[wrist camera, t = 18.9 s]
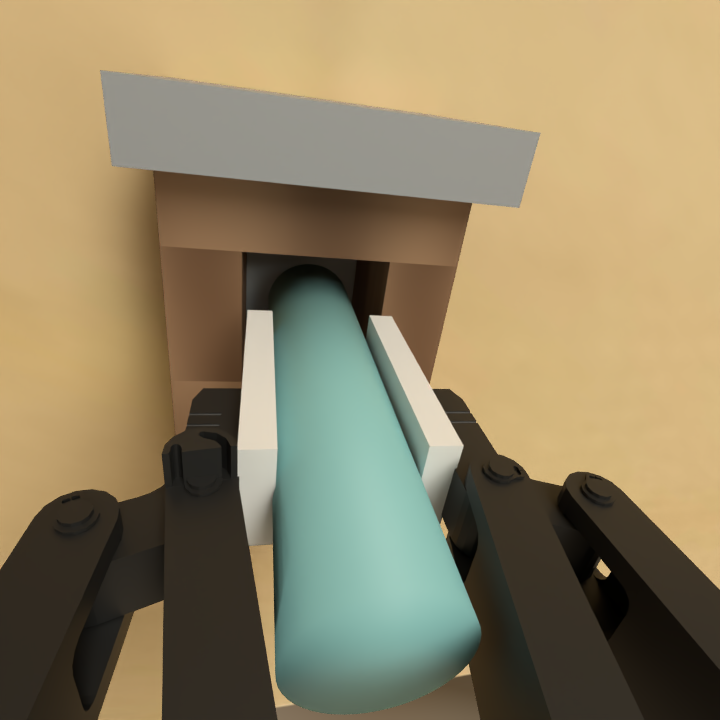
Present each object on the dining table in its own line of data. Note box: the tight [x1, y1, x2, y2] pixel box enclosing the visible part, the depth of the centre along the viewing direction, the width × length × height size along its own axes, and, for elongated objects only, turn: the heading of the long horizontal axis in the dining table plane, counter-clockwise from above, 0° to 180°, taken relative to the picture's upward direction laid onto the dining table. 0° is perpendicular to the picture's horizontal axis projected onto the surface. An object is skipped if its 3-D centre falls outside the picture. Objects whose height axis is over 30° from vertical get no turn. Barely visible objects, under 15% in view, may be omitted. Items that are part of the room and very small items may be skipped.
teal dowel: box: [268, 264, 481, 714], centre depth 13 cm, size 3×3×14 cm
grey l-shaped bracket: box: [100, 70, 540, 320], centre depth 21 cm, size 11×22×9 cm, turn 173°
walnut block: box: [153, 170, 472, 435], centre depth 19 cm, size 10×10×6 cm
